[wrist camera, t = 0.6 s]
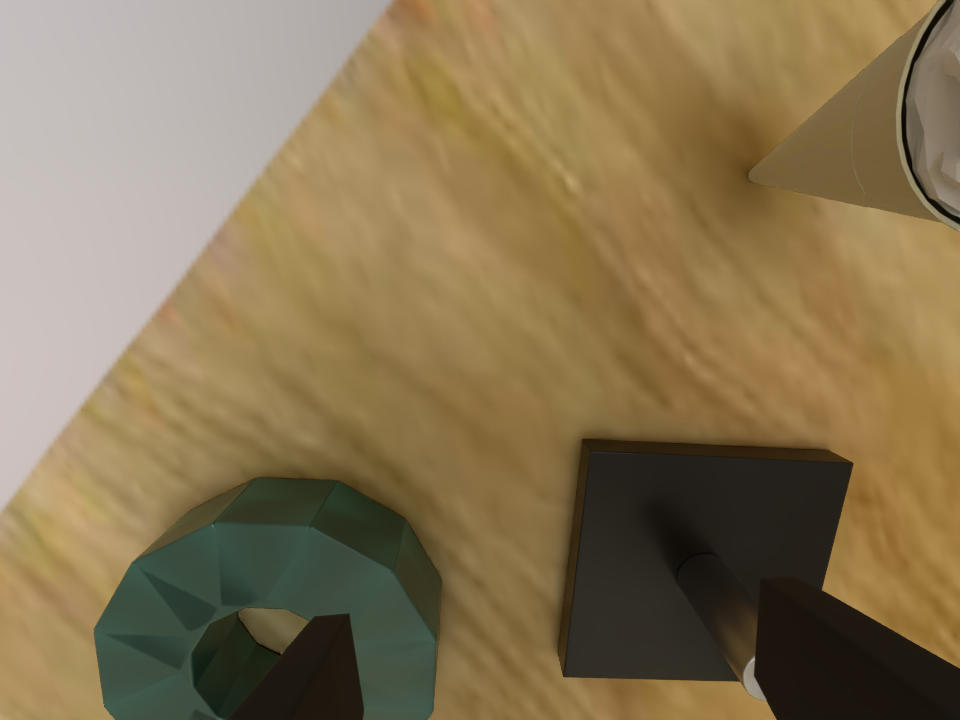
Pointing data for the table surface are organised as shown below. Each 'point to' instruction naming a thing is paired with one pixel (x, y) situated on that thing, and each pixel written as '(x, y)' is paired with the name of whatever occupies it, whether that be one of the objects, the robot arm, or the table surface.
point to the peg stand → (689, 554)
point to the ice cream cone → (886, 130)
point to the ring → (270, 602)
